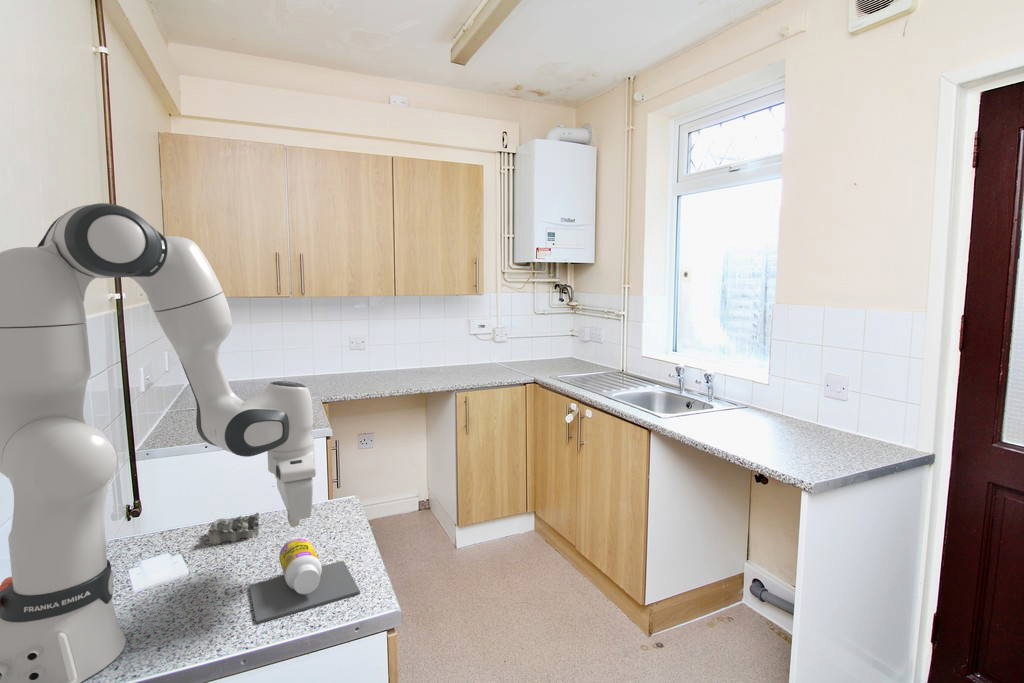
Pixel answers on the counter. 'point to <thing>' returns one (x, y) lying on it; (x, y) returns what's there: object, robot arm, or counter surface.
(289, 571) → the supplement bottle
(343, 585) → the mat
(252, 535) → the egg carton
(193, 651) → the counter surface
